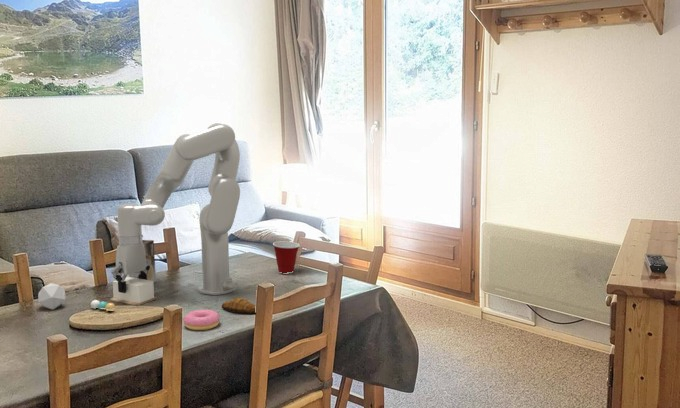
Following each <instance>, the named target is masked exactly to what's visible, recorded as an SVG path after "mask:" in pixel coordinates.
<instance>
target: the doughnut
mask: <svg viewBox="0 0 680 408" xmlns="http://www.w3.org/2000/svg"><path fill="white" fill-rule="evenodd" d="M183 318H184V319H183V323H184V326H185V327H186V328H187V329H189V330H192V331H207V330H210V329H214V328H216V327H217V326H218V325H219V323H220V320H221V316H220V314H219V312H217V311H215V310H212V309H198V310H197V309H196V310H192V311H190V312H188V313H186V314H185V316H184V317H183Z"/></svg>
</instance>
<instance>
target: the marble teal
mask: <svg viewBox="0 0 680 408" xmlns="http://www.w3.org/2000/svg"><path fill="white" fill-rule="evenodd" d="M99 302H100V303H99V304H98V309H99V308H105V307H106V305H107V304H108V303H107V302H106V301H103V300H102V301H99Z"/></svg>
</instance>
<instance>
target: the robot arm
mask: <svg viewBox="0 0 680 408" xmlns="http://www.w3.org/2000/svg"><path fill="white" fill-rule="evenodd" d="M214 154H215V155H214ZM212 155H214V164H213V168H212V173H211V176H210V180H209V184H208V187H207V188H208V194H209V195H210V196H211V199H210V202H209V203H208V204H206V205H204V207H202V208H201V210H200V213H199V216H198V217H199V222H198V223H199V230H200V239H201V240H200V241H201V242H200V244H201V245H200V246H201V267H202V268H201V269H202V270H201V271H202V285H201V286H199V287H198V293H200V294H203V295H208V296H219V295H225V294H226V295H227V294H229V293H232V292H233V291H235V290H236V289H237V286H238V283H237V282H234V281H233V278H232V277H230V256H229V253H230V252H229V249H230V248H229V232H230V230H231V229H232V227H233V225H234V222H235V218H236V213H237V210H238V206H239V202H240V197H241V189H240V184H239V182H238V181H237V175H238V170H239V166H240V160H241V159H240V158H241V157H240V156H241V154H240V148H239V145H238V142H237V140H236V133H235V131H234V129H233V128H232V127H231V126H230V125H228V124H224V123H213V124H211V125H209V126H208V127H207V128H206V129H205V130H202V131H199V132H196V133H192V134H190V133H189V134H187V133H185V134H182V135H179V137H178V138H176V140H175V142H174V143H173V145H172V148H171V149H170V150H169V153H168V155H167V157H166V159H165V161H164V163H163V164H162V166H161V168H160V170H159V172H158V173H157V176H156V177H155V179H154V181H153V182H152V183H151V185H150V187H149V189H148V190H147V192H146V193H145V196H144V198H143V200H142V202H141V204H140V205H139V204H136V203H123V204H120V205H119V206H117V210H116V211H117V212H116V214H117V229H118V245H117V247H116V252H115V266H114V267H113V269H111V274H112V276H113V279H114V280H115V281H118V292H121V293H126V292H127V291H126V281H124V280H125V278H126V277H128V276H129V275H130V274H133V273H136V272H140V273H141V274H139V279H145V280H147V274H148V270H149V269H150V264H151V260H149V259H147V258H146V256H145V249H144V245H143V242H142V240H143V238H144V235H143V234H142V226H151V227H153V226H158V225H160V224H161V223H163V221H164V219H165V218H166V217H165V216H166V213H165V210H164V207H165V205H166V203H167V202H168V200H169V198H170V196H171V195H172V194H173V192H174V191H175V190H176V189H178V188H179V187H180V186H181V185H182V183H183V182H184V181H185V178H186V177H187V175H188V173H189V171H190V169H191V167H192V165H193V164H194V162H195V161H196V160H199V159H203V158H205V157H208V156H212Z"/></svg>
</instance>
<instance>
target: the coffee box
mask: <svg viewBox="0 0 680 408" xmlns="http://www.w3.org/2000/svg"><path fill="white" fill-rule="evenodd" d="M142 242H143V245H144V249H145V256H146V258H147V259H149V260H151V264H150V269H149V270H148V274H147V280H151V281H153V283H155V282H157V278H156V260H155V259H156V258H155V240H151V239H144V240H143V239H142ZM139 274H141V273H140V272H136V273H133V274H130V275H128V277H132V278H138V279H139Z"/></svg>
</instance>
